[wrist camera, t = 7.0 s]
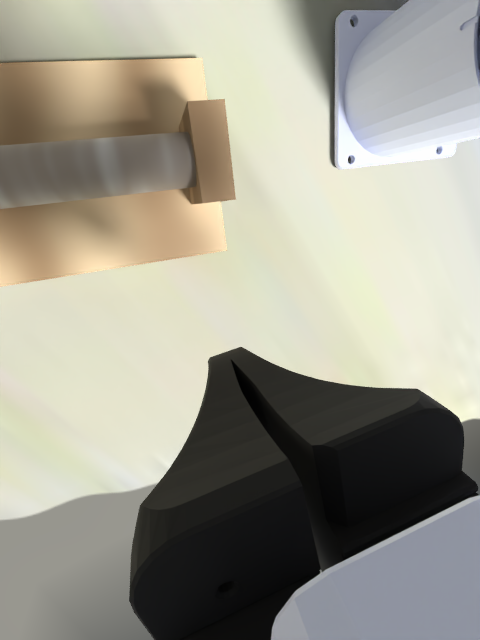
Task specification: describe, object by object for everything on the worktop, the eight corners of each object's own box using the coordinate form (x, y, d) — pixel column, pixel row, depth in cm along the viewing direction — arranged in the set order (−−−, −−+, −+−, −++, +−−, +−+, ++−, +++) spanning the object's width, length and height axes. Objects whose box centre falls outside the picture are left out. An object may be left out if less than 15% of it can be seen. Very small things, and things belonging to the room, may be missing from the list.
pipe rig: (200, 62, 16) (219, 7, 12) (224, 249, 20) (246, 261, 16) (-287, 76, 12) (-543, -2, 8) (-142, 307, 16) (-257, 346, 11)
